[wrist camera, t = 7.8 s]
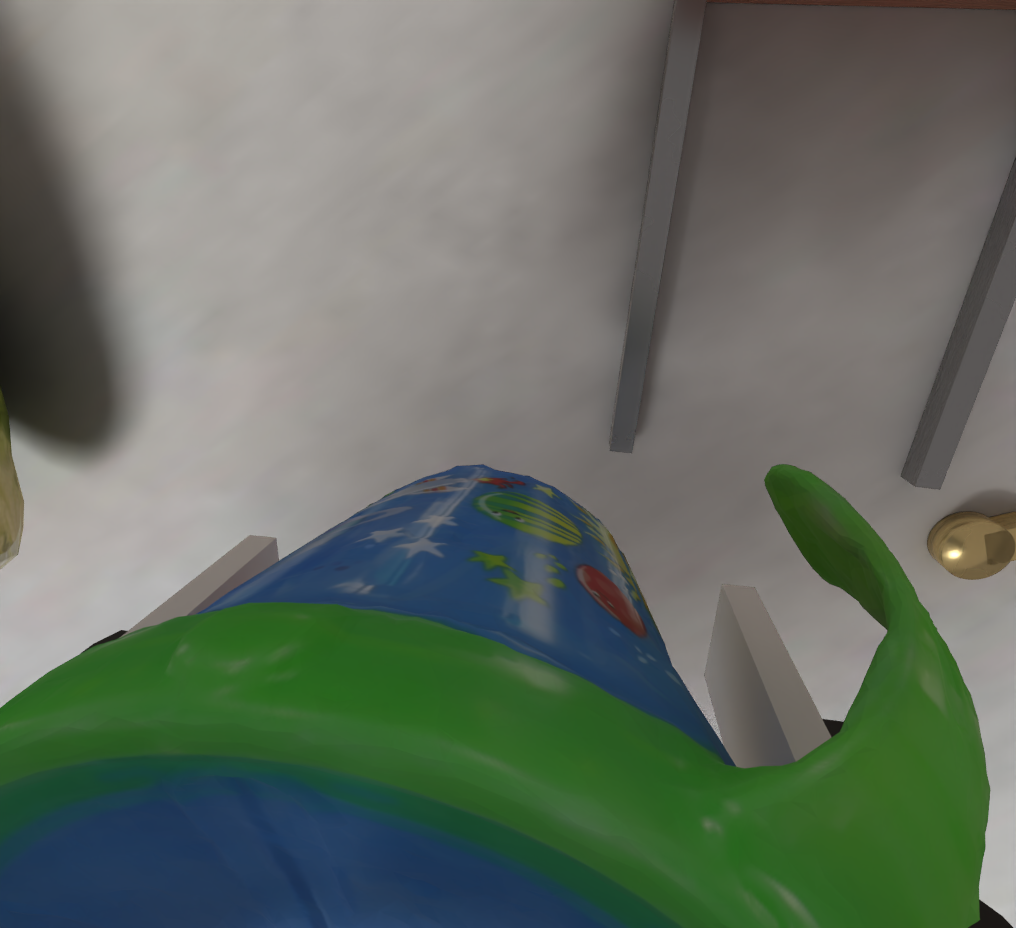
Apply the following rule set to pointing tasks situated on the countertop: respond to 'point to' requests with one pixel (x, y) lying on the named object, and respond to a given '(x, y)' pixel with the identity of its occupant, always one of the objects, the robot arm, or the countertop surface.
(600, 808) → the snack cup
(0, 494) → the lettuce
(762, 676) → the robot arm
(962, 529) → the brass key
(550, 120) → the countertop surface
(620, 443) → the bracket
